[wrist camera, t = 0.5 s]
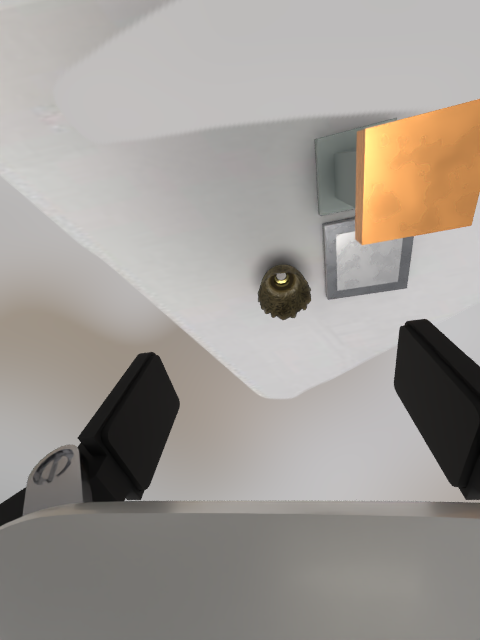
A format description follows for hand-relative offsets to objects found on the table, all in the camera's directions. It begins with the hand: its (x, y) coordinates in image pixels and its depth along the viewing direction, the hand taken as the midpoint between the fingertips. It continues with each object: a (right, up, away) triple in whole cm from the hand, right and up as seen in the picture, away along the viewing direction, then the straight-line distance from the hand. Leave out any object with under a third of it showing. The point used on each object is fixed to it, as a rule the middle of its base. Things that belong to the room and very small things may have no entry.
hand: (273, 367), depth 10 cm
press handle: (+13, +18, +18) cm, 29 cm away
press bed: (+18, +12, +29) cm, 36 cm away
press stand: (+13, +22, +23) cm, 35 cm away
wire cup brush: (+6, +9, +32) cm, 34 cm away
